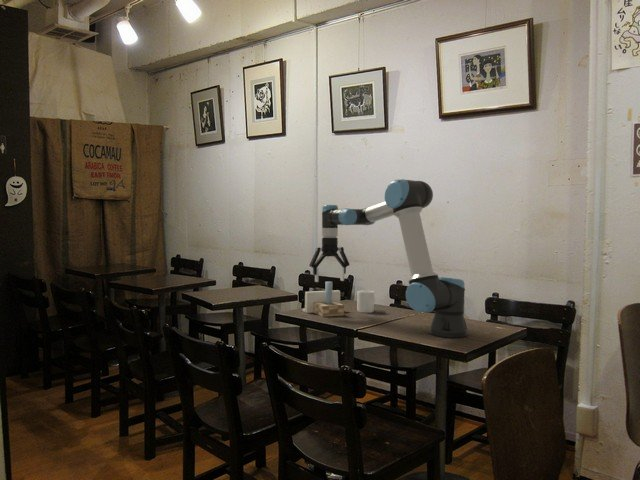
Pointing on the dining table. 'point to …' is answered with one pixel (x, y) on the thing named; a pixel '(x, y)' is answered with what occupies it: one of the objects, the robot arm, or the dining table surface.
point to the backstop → (318, 299)
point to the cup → (365, 301)
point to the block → (328, 309)
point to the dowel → (328, 293)
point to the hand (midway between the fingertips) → (329, 281)
